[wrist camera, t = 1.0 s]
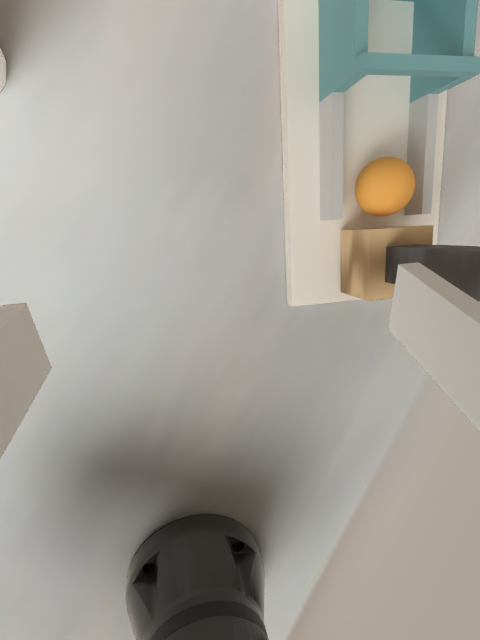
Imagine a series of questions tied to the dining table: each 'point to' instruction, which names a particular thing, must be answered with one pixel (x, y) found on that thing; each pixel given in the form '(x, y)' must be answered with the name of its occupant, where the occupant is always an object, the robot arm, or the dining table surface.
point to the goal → (422, 65)
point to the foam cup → (2, 70)
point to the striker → (402, 260)
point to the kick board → (348, 145)
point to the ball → (385, 186)
